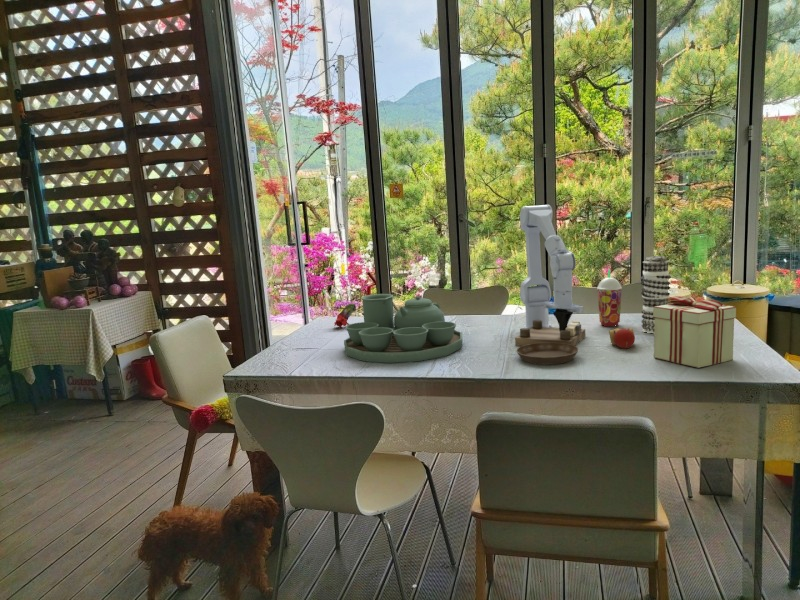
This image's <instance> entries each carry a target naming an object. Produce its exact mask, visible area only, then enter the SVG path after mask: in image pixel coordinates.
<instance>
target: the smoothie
mask: <svg viewBox="0 0 800 600" xmlns="http://www.w3.org/2000/svg"><path fill="white" fill-rule="evenodd" d="M607 273H608V274H607V277H604V278H602V279H601V281H599V283H598V285H597V287H596V290H597V302H598V315H599V316H598V317H599V323H600V325H601V326H602V325H604V326H603V327H606V326H614V327H616V326H615V325H617V326H618V325H619V323H620V322H621V321H620V320H621V309H622V308H621V307H622V305H621V304H622V291H623V287H622V286H621V283H620V281H619V280H617V279H616V278H614V277H612V276H611V269H608V272H607Z"/></svg>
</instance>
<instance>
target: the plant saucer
mask: <svg viewBox="0 0 800 600" xmlns="http://www.w3.org/2000/svg"><path fill="white" fill-rule="evenodd" d="M515 351H516V353H517V355H518V356H519V357H520V358H521V359H522V360H523V361H525V362H527V363H529V364H530V363H531V364H534V363H535V364H536V365H545V364H549V365H559V364H565V363H567V362H568V363H569V362H570V361H571V360H573V359H574V357H576V355H577V354H578V352H579V348H578V347H577V345H575V346H573V345H570V344H564V343H534V344H528V345H524V346H519V347H518V348H517V349H516V350H515Z"/></svg>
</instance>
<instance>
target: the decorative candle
mask: <svg viewBox="0 0 800 600" xmlns="http://www.w3.org/2000/svg"><path fill="white" fill-rule="evenodd" d="M669 262H670V260H668V259H667V258H666V257H665V256H656V255H655V256H647V257H646V258H645V259H644V261H642V264H643V269H642V276H641V277H640V280H641V282H640V284H641V286H642V287H641V293H640V294H641V297H642V298H643V304H642V310H641V314H642V315H641V318H642V319H641V328H642V329H641V332H642V331H644V332H647V333H646V334H648V333H654V323H655V318H654V317H653V307H655V306H661V305H667V304H669V301H668V300H667V299H668V298H670V294H671V293H670V292H669V291H668V290H671V287H670V286H669V285H671V282H670V281H669V279H671V278H672V276H671V275H670V271H669ZM644 332H643V333H644Z"/></svg>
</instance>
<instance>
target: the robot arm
mask: <svg viewBox="0 0 800 600" xmlns="http://www.w3.org/2000/svg"><path fill="white" fill-rule="evenodd" d="M553 214H554V213H553V208H552V206H551V205H550V204H542V205H528V206H527V205H523V206H522V207H521V208H520V213H519V221H520V230H521V231H524V235H525V236H524V237H525V250H526V251H525V252H526V253H525V254H526V268H527V269H526V270H527V277H526V278H525V279H524V280H523V281H522V282H521V283H520V291H519V298H520V301H521V303H522V304H523V305H524V306H525V327H523V328H531V327H532V326H533V320H542V327H552V324H550V322H549V319H550V317H549V315H550V314H549V309H551V310H552V309H553V310H555V311H553V312H552V313H553V316H554V317H555V319H556V320H557V324H558V328H559V330H560V331H561V330H566V329H565V328H566V327H568V325H569V321H570V319H571V317H572V315H573V314H574V313H576V314H579V315H580V314H583V313H585V311H584V310H585V309H584V306H582V305H578V304H574V303H573V271H574V270H575V268H576V257H575V255H574V253H573V252H572V251H570V250H568V249H567V247H566V245H565V243H564V241H563V239H562V237H561V236H559V235H557V234H556V230H555V227H554V225H553V222H552V221H553ZM540 233H541V234H542V236H543V238H544V239H545V241H544V247H545V249H546V251H547V253H548V256H549V258H550V261H549V267H550V269H551V277H552V279H553V301H551V299H552V289H551V287H550V282H549V281H548V280H547V279H546V278H544V277H543V272H542V271H543V270H542V255H541V254H542V253H541V238H540Z"/></svg>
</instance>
